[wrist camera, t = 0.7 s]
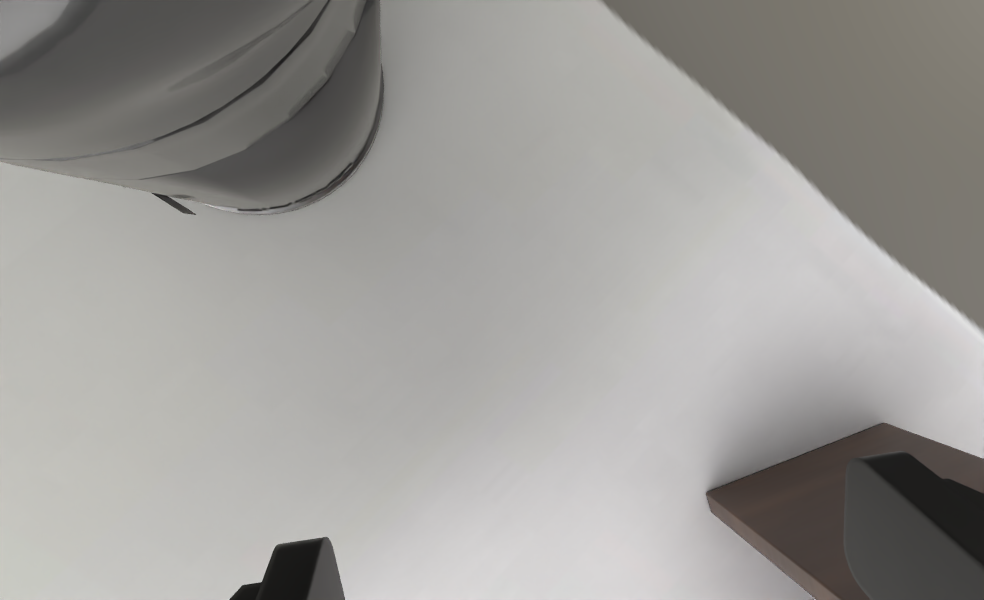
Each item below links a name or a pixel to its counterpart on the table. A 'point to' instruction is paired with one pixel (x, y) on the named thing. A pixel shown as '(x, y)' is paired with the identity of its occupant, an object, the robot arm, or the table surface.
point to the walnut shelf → (823, 505)
